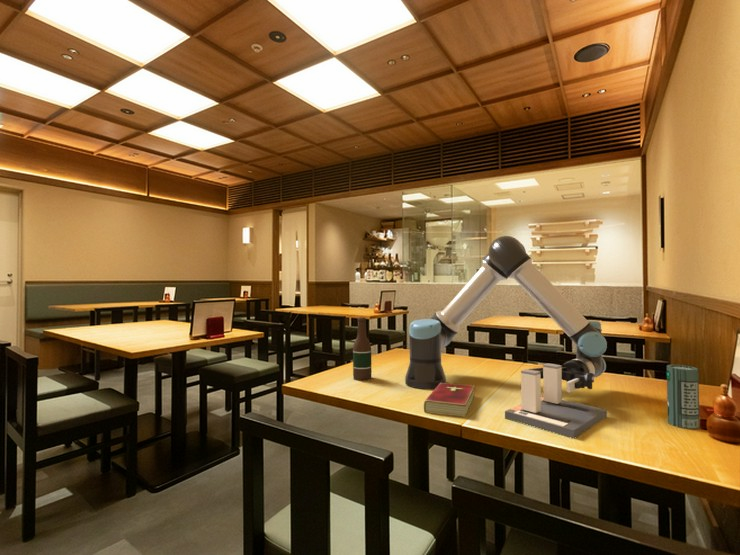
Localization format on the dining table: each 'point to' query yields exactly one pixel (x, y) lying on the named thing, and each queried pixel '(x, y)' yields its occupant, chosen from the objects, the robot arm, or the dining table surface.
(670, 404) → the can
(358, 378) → the beer bottle
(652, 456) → the dining table surface
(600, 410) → the switch base
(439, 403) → the hardcover book
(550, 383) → the back tab
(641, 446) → the dining table surface
